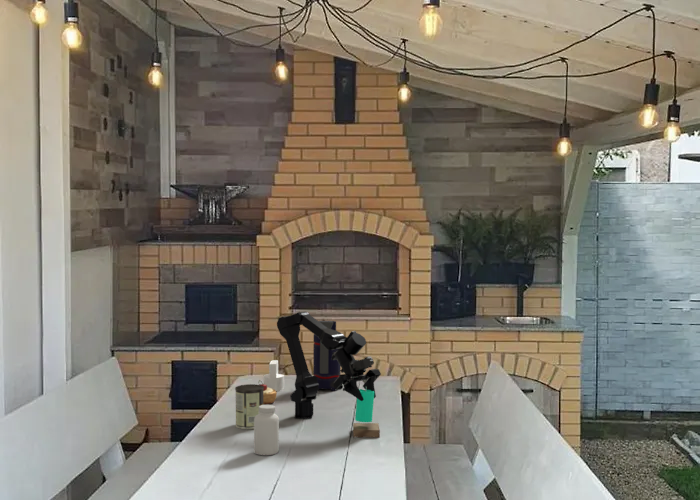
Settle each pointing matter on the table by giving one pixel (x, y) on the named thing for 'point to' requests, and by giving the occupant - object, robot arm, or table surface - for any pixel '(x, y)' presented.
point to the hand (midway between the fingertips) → (368, 399)
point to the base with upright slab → (274, 377)
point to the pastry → (268, 394)
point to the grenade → (325, 361)
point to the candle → (365, 406)
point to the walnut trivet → (366, 430)
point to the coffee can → (248, 404)
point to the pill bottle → (266, 431)
